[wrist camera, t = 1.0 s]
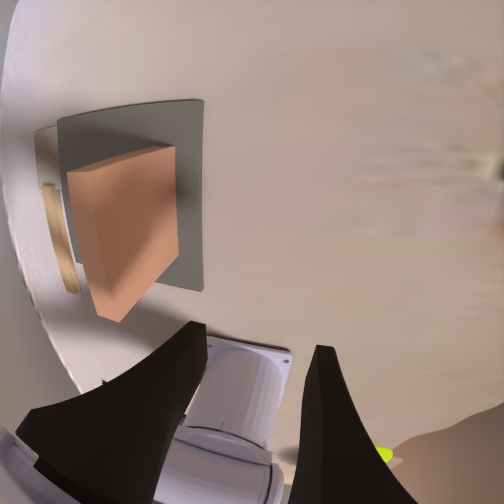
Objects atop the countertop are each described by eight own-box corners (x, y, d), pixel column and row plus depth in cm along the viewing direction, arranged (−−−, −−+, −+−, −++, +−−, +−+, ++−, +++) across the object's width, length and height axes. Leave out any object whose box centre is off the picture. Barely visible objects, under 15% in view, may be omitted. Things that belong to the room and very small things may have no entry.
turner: (89, 292, 26) (83, 297, 25) (64, 283, 26) (59, 288, 26) (62, 124, 18) (54, 126, 17) (37, 130, 18) (30, 132, 17)
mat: (203, 288, 22) (201, 292, 21) (79, 259, 24) (76, 262, 24) (203, 100, 15) (200, 100, 15) (60, 119, 17) (56, 120, 17)
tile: (178, 254, 20) (119, 322, 13) (158, 251, 20) (95, 314, 14) (175, 146, 16) (89, 171, 10) (152, 146, 17) (64, 172, 10)
